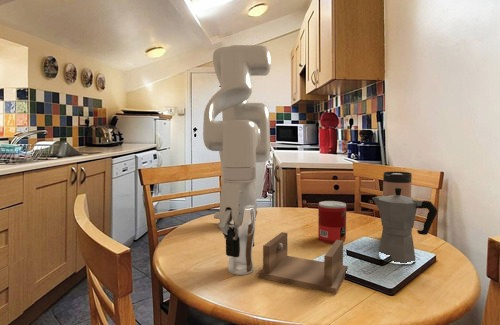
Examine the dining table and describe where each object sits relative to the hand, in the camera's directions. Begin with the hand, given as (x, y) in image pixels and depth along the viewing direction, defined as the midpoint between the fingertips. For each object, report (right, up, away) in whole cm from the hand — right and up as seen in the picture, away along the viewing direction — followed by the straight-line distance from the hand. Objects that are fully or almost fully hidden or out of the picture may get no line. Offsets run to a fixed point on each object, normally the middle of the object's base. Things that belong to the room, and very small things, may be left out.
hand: (240, 250), depth 74 cm
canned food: (+27, -3, +21) cm, 34 cm away
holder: (+14, -5, -2) cm, 15 cm away
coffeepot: (+40, -4, +6) cm, 41 cm away
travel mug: (+46, -3, +21) cm, 50 cm away
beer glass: (0, -5, 0) cm, 5 cm away
